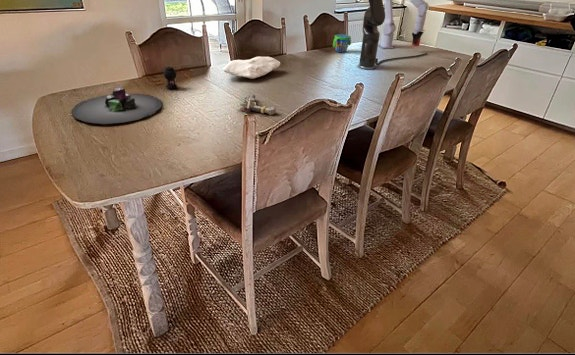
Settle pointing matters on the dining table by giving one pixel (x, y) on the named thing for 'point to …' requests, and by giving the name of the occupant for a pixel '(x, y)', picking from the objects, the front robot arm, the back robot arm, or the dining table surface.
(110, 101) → the dark grey serving platter
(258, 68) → the crumpled cloth
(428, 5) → the back robot arm
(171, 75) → the gumball machine
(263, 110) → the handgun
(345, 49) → the snack cup
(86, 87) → the dining table surface
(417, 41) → the red cube
